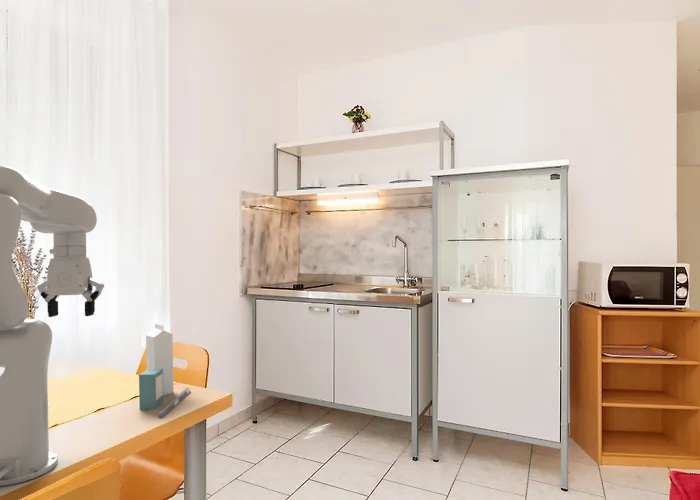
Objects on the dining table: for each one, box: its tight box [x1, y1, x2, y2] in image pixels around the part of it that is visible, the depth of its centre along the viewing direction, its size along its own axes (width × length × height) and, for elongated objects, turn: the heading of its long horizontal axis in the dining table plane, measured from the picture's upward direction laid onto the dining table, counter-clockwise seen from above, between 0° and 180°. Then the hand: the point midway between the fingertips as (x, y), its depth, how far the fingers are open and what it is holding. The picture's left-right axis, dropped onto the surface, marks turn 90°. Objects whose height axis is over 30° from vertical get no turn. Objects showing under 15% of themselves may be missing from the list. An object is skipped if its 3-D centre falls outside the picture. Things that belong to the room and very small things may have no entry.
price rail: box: [158, 387, 191, 418], centre depth 131 cm, size 22×1×1 cm, turn 1°
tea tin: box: [138, 368, 165, 410], centre depth 130 cm, size 6×5×10 cm
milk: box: [145, 323, 174, 396], centre depth 141 cm, size 6×6×22 cm
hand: (71, 315), depth 120 cm, fingers open, 9 cm apart
